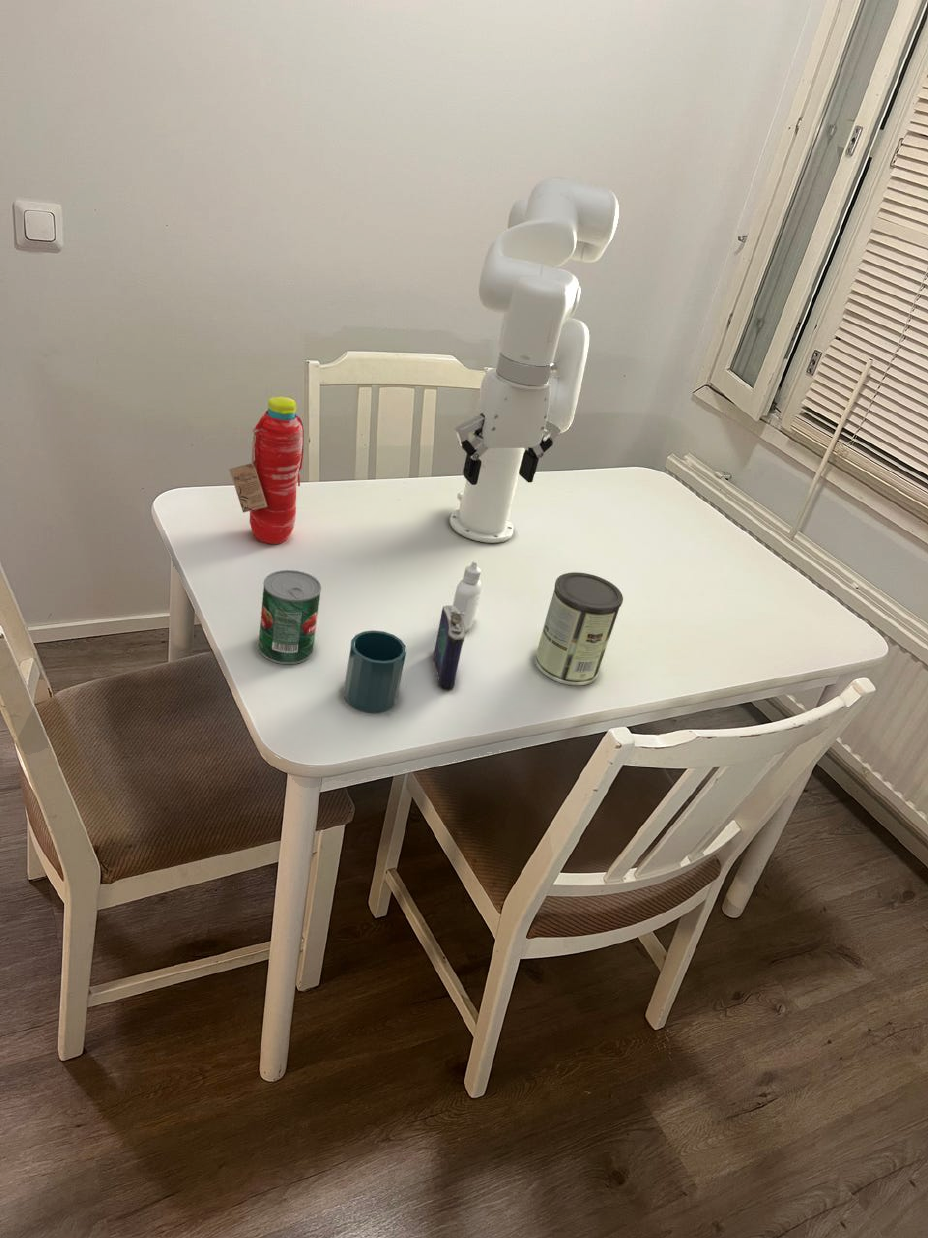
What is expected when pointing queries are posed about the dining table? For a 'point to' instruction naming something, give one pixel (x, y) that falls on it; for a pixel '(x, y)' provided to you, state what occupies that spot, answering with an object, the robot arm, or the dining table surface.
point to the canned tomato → (289, 616)
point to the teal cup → (374, 671)
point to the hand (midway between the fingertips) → (498, 479)
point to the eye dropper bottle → (468, 594)
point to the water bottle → (272, 472)
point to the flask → (448, 646)
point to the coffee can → (577, 628)
